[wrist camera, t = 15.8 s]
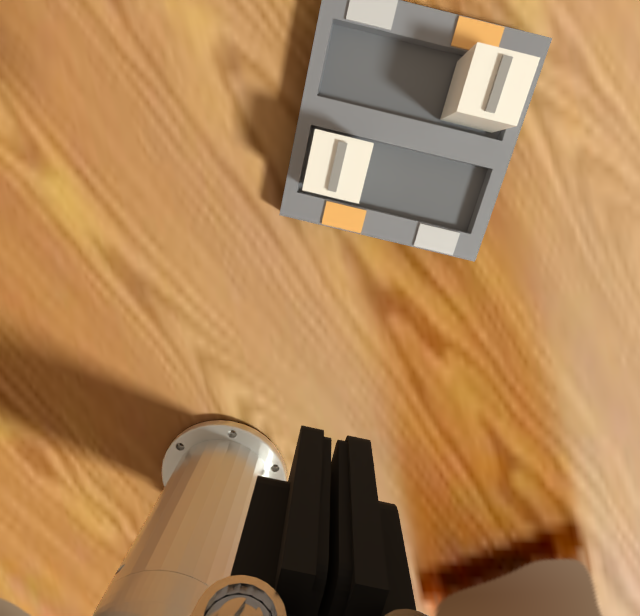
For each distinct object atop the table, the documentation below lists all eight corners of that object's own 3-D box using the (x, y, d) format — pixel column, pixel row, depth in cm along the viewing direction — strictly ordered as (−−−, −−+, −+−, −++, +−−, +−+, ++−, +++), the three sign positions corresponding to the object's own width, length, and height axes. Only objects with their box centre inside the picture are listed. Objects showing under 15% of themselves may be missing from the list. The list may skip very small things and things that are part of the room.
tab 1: (491, 132, 33) (518, 125, 28) (439, 120, 33) (457, 110, 28) (510, 74, 31) (542, 56, 26) (457, 61, 31) (478, 40, 26)
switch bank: (467, 256, 37) (475, 262, 35) (283, 212, 37) (279, 215, 34) (538, 46, 32) (553, 37, 30) (326, -7, 32) (325, -20, 29)
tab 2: (356, 199, 35) (358, 203, 30) (307, 187, 35) (301, 190, 30) (369, 147, 33) (374, 142, 28) (319, 134, 33) (314, 128, 28)
